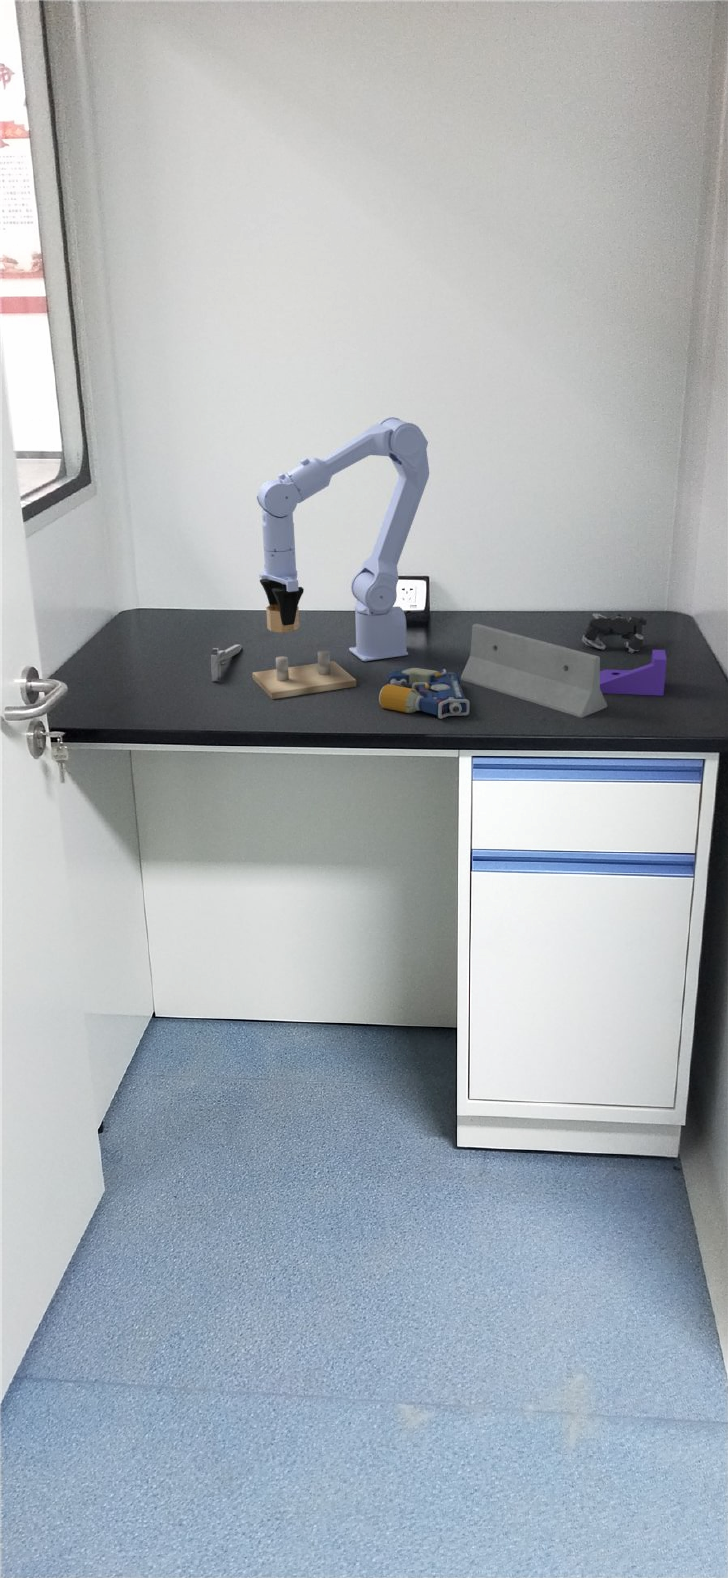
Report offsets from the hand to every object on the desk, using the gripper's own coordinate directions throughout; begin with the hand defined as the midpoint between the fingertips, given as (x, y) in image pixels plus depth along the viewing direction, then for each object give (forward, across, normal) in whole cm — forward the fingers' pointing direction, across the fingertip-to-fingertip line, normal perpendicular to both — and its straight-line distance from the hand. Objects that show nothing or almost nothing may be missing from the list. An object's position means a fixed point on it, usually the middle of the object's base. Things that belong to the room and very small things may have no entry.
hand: (283, 620), depth 221 cm
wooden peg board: (+9, +11, 0) cm, 14 cm away
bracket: (+10, +38, +52) cm, 65 cm away
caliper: (+9, -5, -10) cm, 15 cm away
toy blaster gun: (+10, +28, +16) cm, 34 cm away
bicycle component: (+9, +14, +64) cm, 66 cm away
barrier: (+9, +33, +35) cm, 49 cm away
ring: (+2, 0, 0) cm, 2 cm away
